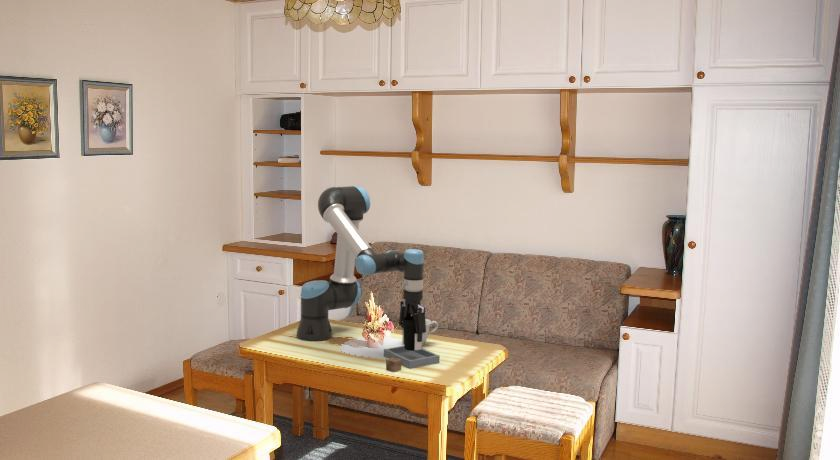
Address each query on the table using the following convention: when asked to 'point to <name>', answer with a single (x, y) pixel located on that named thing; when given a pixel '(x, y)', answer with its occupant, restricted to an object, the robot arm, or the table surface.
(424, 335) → the teacup
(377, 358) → the table surface
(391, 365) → the walnut block
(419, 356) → the tray
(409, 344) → the cup
